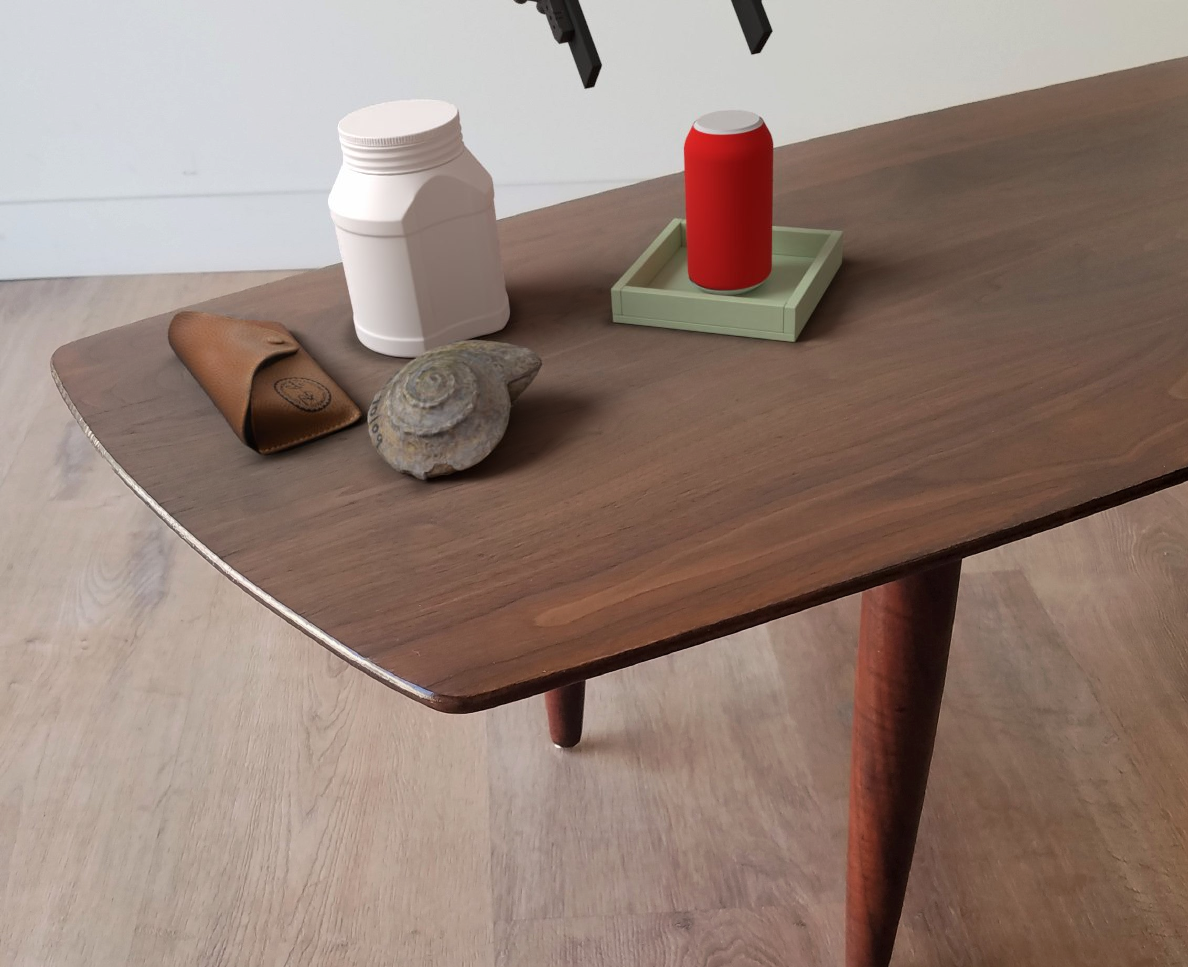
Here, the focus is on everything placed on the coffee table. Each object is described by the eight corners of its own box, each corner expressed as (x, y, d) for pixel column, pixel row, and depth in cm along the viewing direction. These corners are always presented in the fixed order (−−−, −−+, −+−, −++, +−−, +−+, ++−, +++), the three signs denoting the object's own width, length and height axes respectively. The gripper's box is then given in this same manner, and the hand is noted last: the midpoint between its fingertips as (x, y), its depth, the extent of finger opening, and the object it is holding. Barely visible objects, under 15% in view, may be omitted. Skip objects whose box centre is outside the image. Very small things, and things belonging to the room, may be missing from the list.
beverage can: (678, 275, 93) (672, 113, 86) (755, 262, 94) (756, 101, 87) (702, 307, 89) (697, 140, 81) (783, 293, 89) (786, 126, 82)
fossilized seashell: (339, 407, 79) (361, 310, 75) (478, 403, 85) (506, 314, 81) (411, 505, 73) (440, 405, 69) (555, 494, 79) (589, 401, 75)
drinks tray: (842, 263, 94) (843, 230, 93) (794, 342, 85) (795, 307, 83) (675, 249, 99) (674, 217, 97) (612, 322, 89) (610, 289, 88)
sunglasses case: (372, 412, 80) (304, 348, 76) (298, 489, 80) (225, 430, 76) (279, 320, 93) (215, 260, 88) (215, 387, 93) (148, 331, 88)
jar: (467, 280, 97) (437, 84, 88) (532, 319, 91) (507, 111, 82) (336, 326, 92) (290, 123, 83) (395, 370, 86) (352, 155, 77)
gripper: (718, -179, 98) (809, 59, 96) (420, -135, 92) (511, 121, 90) (749, -258, 91) (849, -3, 89) (428, -216, 84) (527, 60, 82)
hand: (679, 60), depth 89 cm, fingers open, 13 cm apart
